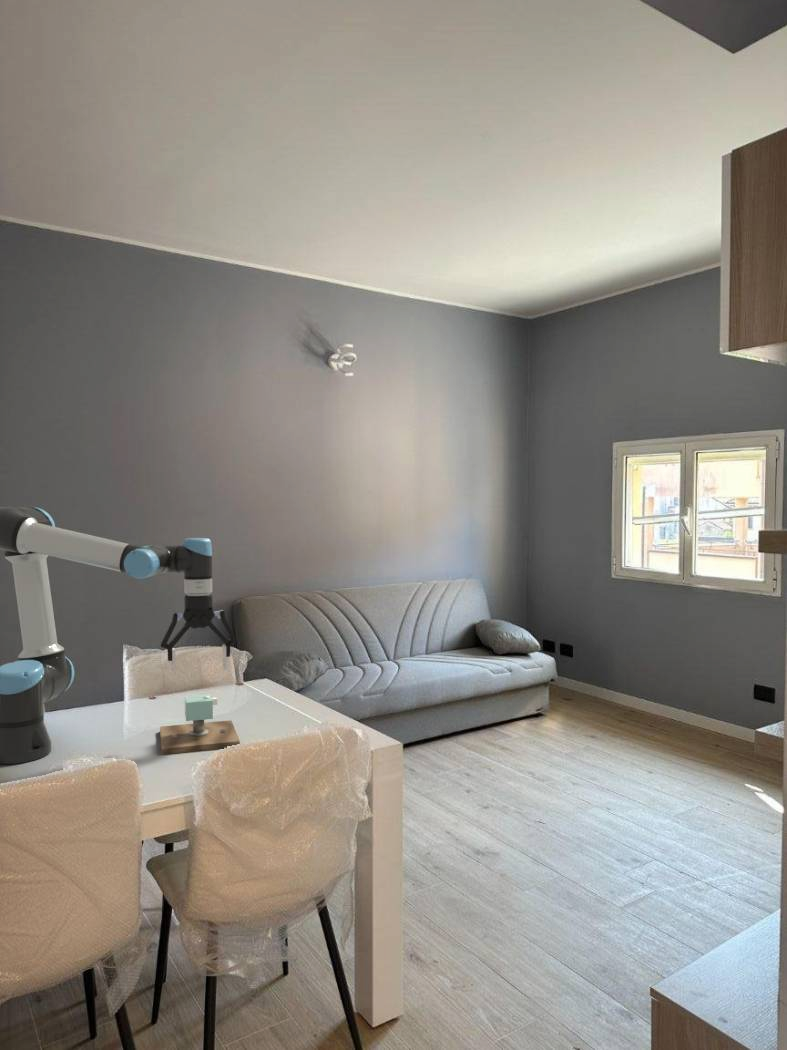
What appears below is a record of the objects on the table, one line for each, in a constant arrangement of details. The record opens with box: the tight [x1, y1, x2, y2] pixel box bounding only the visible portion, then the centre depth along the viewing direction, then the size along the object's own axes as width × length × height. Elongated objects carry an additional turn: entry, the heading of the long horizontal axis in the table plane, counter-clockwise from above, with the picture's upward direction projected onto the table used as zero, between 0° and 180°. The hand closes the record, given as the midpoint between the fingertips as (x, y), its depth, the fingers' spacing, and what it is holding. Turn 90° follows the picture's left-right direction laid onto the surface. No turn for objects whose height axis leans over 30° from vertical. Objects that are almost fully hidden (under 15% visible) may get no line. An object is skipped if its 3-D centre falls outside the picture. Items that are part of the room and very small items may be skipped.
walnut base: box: [159, 719, 241, 755], centre depth 201 cm, size 20×20×6 cm
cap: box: [184, 693, 218, 722], centre depth 201 cm, size 8×7×5 cm
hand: (199, 670), depth 201 cm, fingers open, 13 cm apart
